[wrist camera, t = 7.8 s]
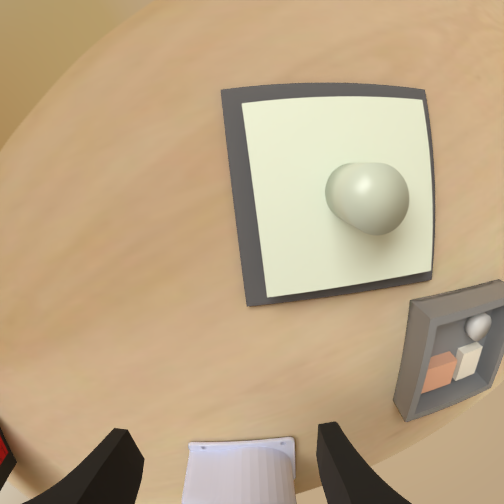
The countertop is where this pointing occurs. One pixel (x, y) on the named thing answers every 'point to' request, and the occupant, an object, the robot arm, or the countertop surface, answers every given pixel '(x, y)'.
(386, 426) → the countertop surface
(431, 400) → the storage box
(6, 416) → the countertop surface
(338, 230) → the lid
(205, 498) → the robot arm
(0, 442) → the cleaning product box
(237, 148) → the mat
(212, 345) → the countertop surface
